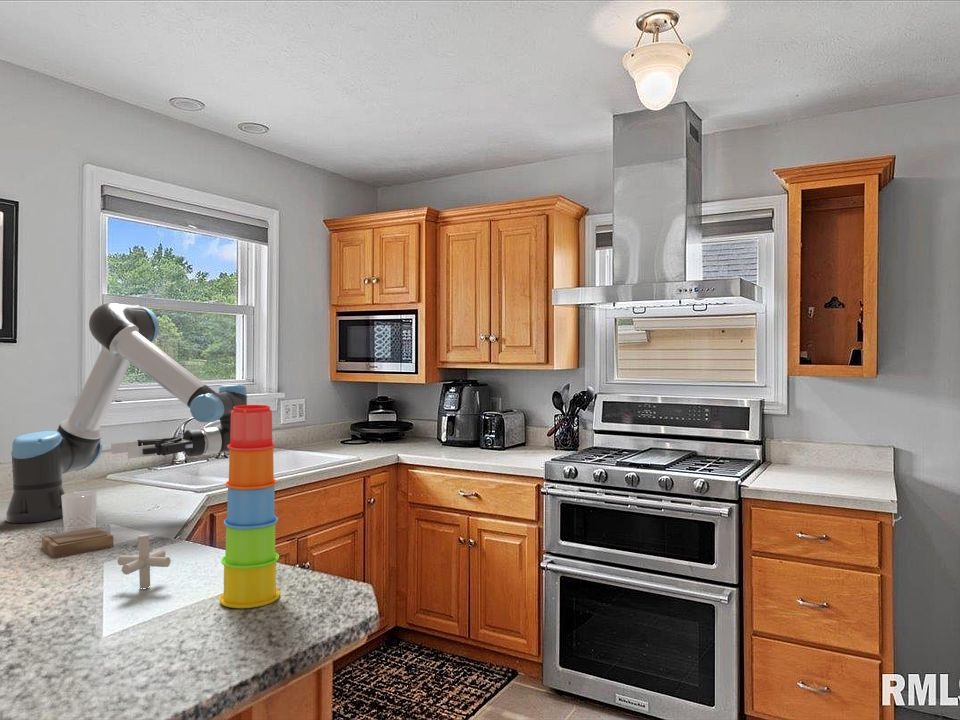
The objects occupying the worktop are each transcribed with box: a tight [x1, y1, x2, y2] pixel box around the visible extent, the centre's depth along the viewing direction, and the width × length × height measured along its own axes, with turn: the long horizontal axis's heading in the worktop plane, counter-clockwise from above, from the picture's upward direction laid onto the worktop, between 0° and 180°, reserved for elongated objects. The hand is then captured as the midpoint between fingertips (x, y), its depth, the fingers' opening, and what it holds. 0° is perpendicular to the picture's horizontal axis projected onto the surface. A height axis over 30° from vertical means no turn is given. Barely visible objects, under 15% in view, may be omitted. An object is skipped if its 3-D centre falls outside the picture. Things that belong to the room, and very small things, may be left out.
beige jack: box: [117, 533, 172, 590], centre depth 133 cm, size 10×10×10 cm
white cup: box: [61, 490, 98, 533], centre depth 176 cm, size 8×8×10 cm
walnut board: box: [41, 526, 115, 559], centre depth 163 cm, size 12×12×3 cm
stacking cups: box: [218, 404, 281, 609], centre depth 125 cm, size 10×10×35 cm
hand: (119, 450), depth 183 cm, fingers open, 13 cm apart
